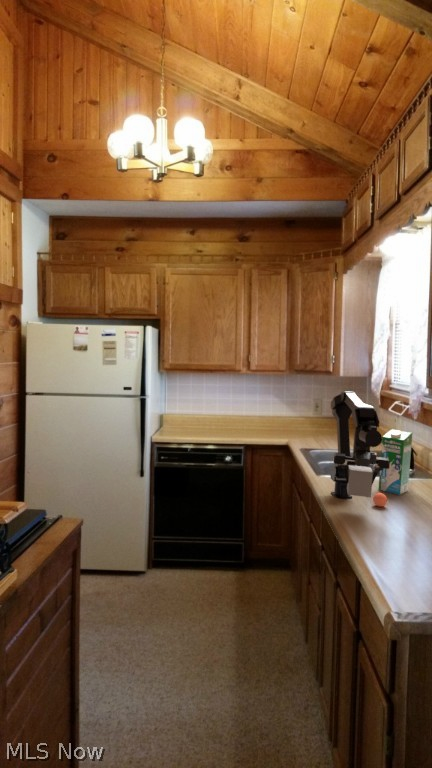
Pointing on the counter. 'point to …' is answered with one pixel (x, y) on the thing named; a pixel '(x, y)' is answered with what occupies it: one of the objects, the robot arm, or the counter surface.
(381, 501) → the ball
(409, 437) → the milk carton
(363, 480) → the grey rectangular box
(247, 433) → the counter surface
